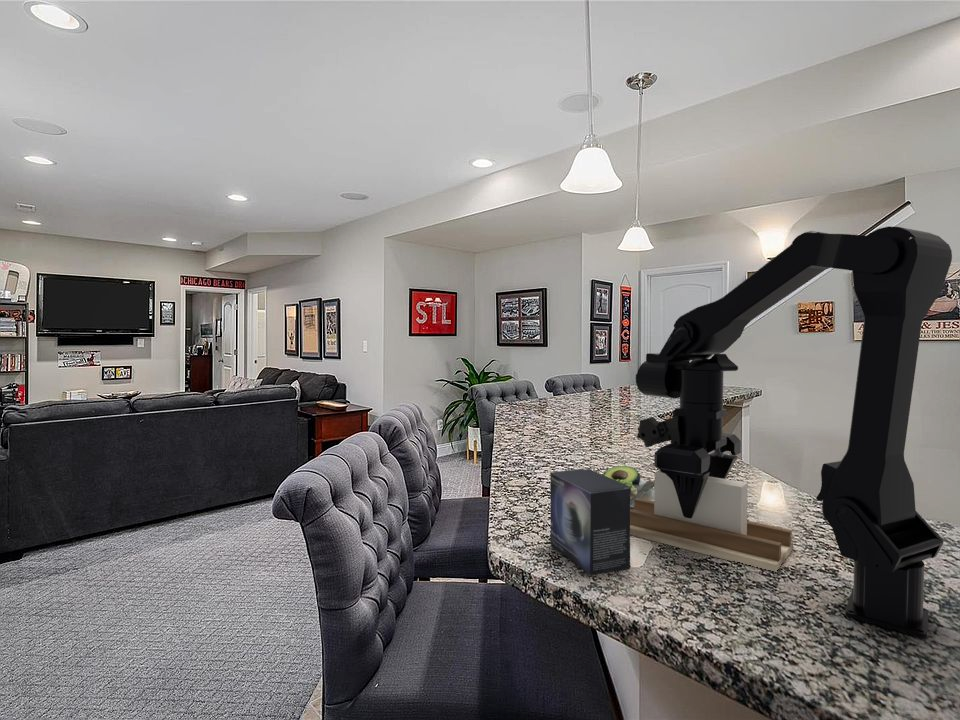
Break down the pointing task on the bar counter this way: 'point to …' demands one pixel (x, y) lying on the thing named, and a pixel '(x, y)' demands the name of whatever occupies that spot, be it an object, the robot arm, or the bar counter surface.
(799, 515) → the bar counter surface
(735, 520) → the door panel
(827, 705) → the bar counter surface
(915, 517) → the robot arm
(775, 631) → the bar counter surface
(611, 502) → the small box
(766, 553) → the floor track
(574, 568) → the bar counter surface
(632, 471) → the salad plate
